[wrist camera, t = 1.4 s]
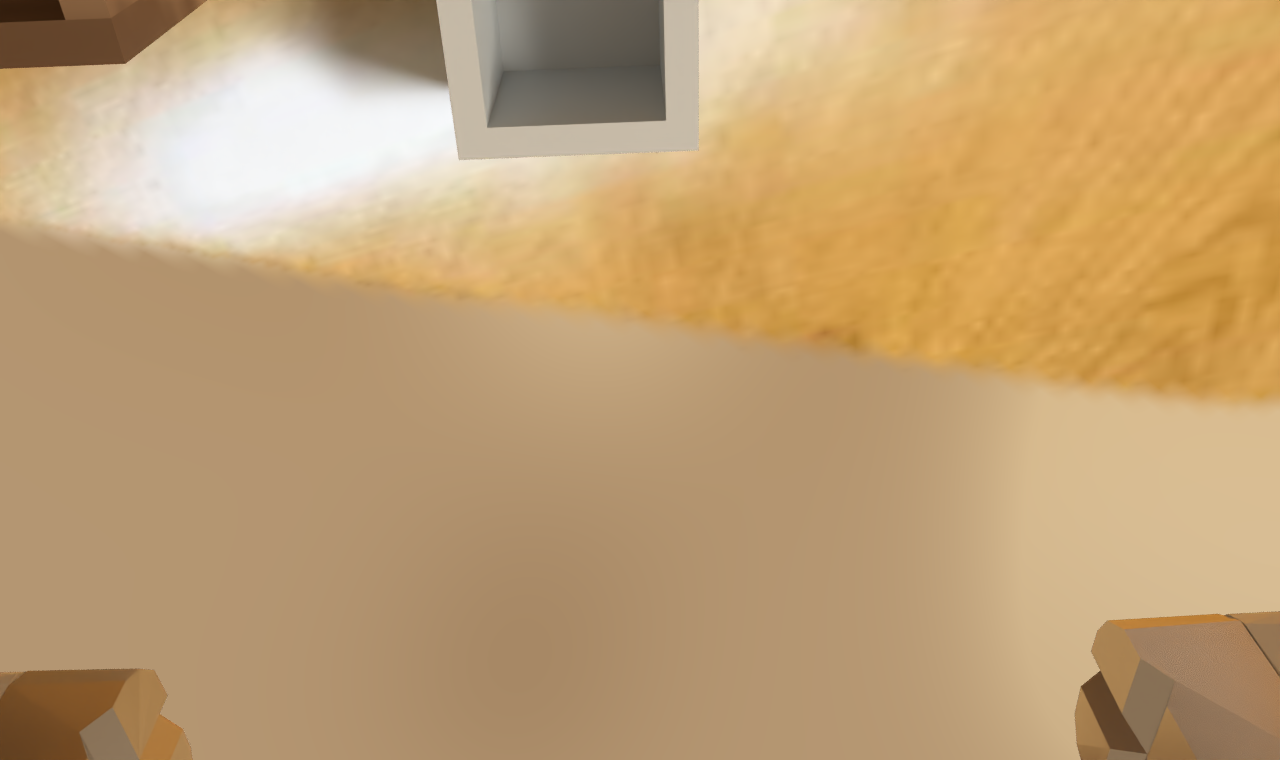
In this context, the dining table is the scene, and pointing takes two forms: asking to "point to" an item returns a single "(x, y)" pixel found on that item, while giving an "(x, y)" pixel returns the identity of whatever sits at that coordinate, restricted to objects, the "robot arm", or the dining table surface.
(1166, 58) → the dining table surface
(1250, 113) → the dining table surface
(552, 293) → the dining table surface
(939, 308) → the dining table surface
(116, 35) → the big crate
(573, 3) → the box
